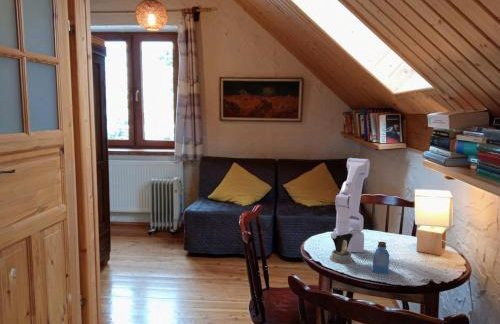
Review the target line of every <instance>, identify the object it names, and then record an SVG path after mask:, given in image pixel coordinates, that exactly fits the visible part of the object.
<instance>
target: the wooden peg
mask: <svg viewBox="0 0 500 324" xmlns="http://www.w3.org/2000/svg"><path fill="white" fill-rule="evenodd" d="M336 254H337V255H347V241H346V240H344V241H343V243H342V249H341V252H340V253H339V252H336Z"/></svg>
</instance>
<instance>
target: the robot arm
mask: <svg viewBox="0 0 500 324" xmlns="http://www.w3.org/2000/svg"><path fill="white" fill-rule="evenodd" d="M370 165H371V163H370V159H368V158H353V157H349V158H347V161H346V168H347V169H346V170H347V178H346V180H344V182H343V183H342V185H341V189H340V191H339V193H338V194H336V196H335V199H334V203H335V204H334V205H335V211H336V221H335V222H336V223H335V228H333V232H331V233H330V238H331V239H332V242H333V244H334V248H335V249H334V250H336V252H339V253H340V252H341V249H342V243H343V241H344V240H346V241H347V251H349V252H351V253H365V249H364V248H365V234H364V232H363V229H364V216H363V215H362V214H361V213H360V212H359V211H360V203H361V199H362V193H363V191H362V190H363V186H364V181H365V179H366V178H368V177H369V173H370V167H371V166H370Z"/></svg>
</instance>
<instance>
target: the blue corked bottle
mask: <svg viewBox="0 0 500 324" xmlns="http://www.w3.org/2000/svg"><path fill="white" fill-rule="evenodd" d="M389 265H390V252H389V251H388V249H387V242H385V241H378V242H377V248H376V249H375V250H374V252H373V260H372V273H376V274H382V275H383V274H384V275H389V273H390V272H389V269H390V268H389V267H390V266H389Z"/></svg>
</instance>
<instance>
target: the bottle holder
mask: <svg viewBox="0 0 500 324" xmlns="http://www.w3.org/2000/svg"><path fill="white" fill-rule="evenodd" d="M329 260H330V261H331V262H334V263H337V264H350V263H352V262H353V260H354V259H353V257H352V252H349V251H347V255H337V254H336V249H333V250H331V255H330V256H329Z"/></svg>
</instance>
